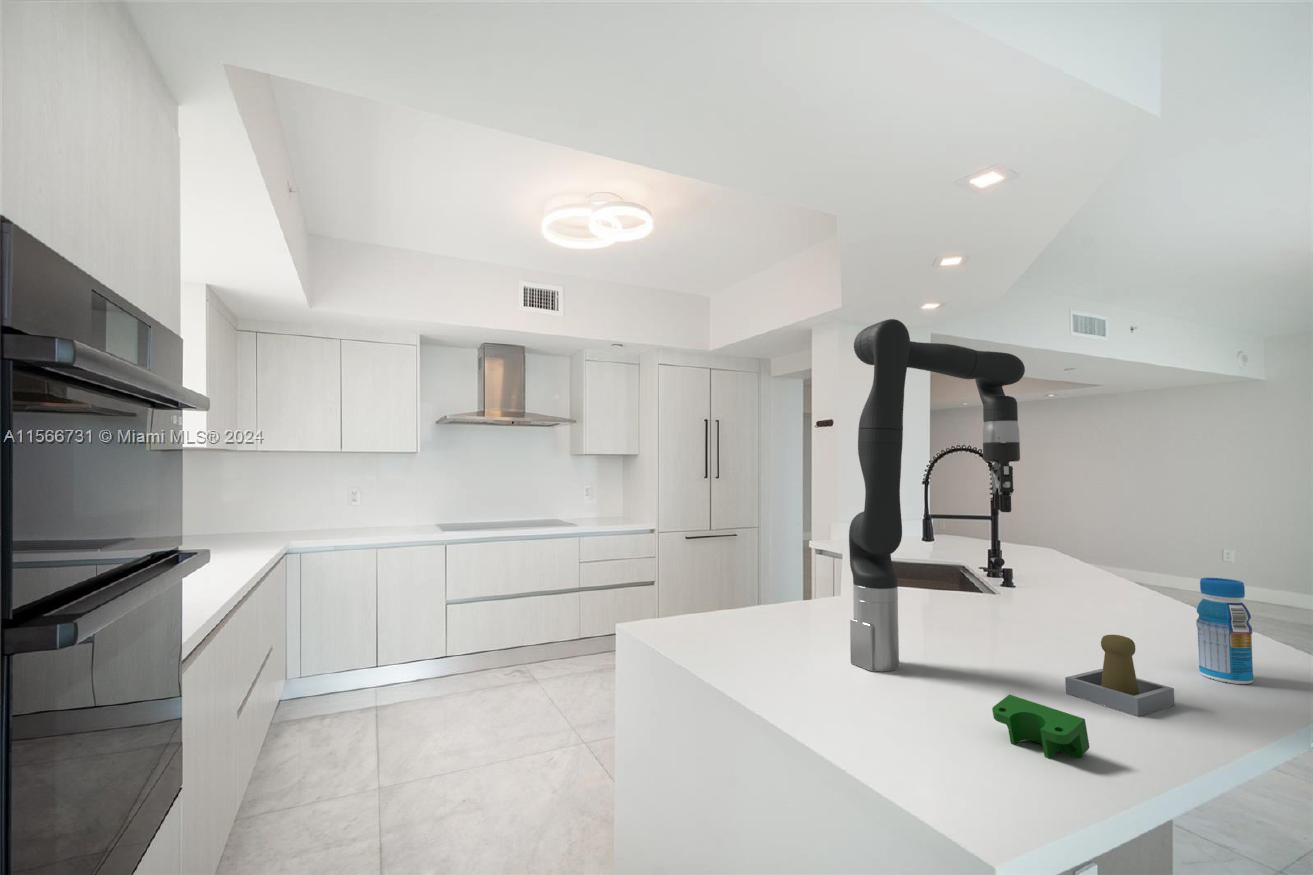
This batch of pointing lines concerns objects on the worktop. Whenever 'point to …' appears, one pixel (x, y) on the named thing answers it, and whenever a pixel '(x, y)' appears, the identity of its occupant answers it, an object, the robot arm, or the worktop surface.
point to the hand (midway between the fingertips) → (1002, 510)
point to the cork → (1119, 664)
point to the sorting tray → (1120, 694)
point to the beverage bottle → (1224, 632)
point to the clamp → (1042, 726)
